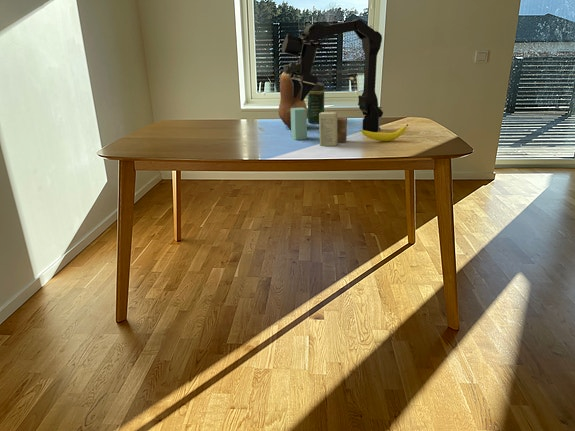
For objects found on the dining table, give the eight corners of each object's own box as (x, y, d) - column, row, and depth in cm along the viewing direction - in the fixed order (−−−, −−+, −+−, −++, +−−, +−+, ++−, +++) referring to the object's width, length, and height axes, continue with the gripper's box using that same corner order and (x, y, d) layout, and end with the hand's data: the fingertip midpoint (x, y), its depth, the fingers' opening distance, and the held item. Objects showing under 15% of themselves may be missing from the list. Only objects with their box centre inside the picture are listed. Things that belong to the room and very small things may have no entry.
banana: (358, 142, 165) (359, 125, 162) (405, 139, 166) (406, 123, 164) (360, 143, 162) (361, 127, 160) (408, 141, 164) (409, 124, 161)
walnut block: (346, 140, 168) (347, 117, 164) (345, 143, 164) (346, 120, 160) (335, 140, 169) (335, 117, 165) (333, 142, 165) (334, 119, 161)
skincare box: (337, 143, 163) (338, 111, 158) (335, 146, 159) (335, 113, 154) (321, 142, 165) (321, 111, 160) (318, 145, 161) (318, 113, 156)
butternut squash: (313, 127, 193) (313, 70, 183) (289, 131, 186) (288, 72, 176) (296, 123, 203) (295, 68, 193) (272, 127, 196) (270, 70, 187)
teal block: (302, 136, 177) (302, 107, 172) (306, 138, 172) (306, 109, 168) (291, 137, 175) (290, 108, 170) (295, 140, 171) (294, 110, 166)
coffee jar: (322, 124, 200) (323, 83, 192) (306, 123, 201) (306, 83, 194) (325, 120, 208) (325, 81, 201) (309, 120, 210) (309, 81, 203)
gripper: (281, 53, 169) (272, 92, 174) (295, 54, 153) (285, 97, 158) (306, 59, 173) (297, 97, 178) (322, 61, 157) (312, 103, 162)
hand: (297, 99), depth 169 cm, fingers open, 9 cm apart
